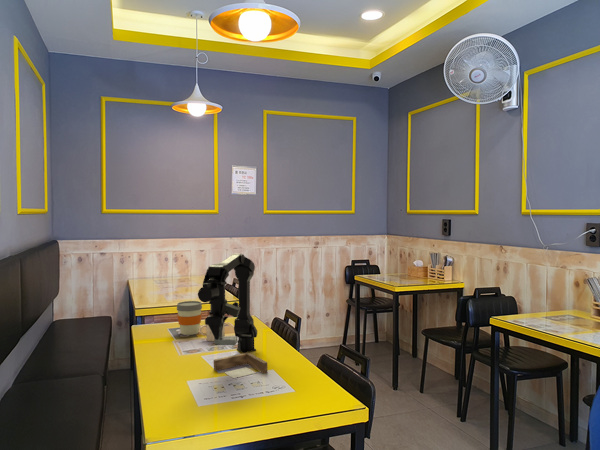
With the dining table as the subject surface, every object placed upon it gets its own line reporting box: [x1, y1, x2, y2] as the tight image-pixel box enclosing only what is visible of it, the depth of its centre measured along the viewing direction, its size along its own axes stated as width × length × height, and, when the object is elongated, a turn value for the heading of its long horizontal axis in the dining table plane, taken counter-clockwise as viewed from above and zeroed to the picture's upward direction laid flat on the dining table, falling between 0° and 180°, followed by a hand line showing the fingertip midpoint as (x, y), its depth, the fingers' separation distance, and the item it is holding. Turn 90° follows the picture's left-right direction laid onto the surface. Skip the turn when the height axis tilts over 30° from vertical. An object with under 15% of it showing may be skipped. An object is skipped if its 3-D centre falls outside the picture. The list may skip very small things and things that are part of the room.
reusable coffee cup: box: [176, 300, 203, 336], centre depth 235 cm, size 13×13×15 cm
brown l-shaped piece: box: [213, 352, 269, 375], centre depth 178 cm, size 15×15×4 cm
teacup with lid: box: [199, 320, 226, 343], centre depth 222 cm, size 12×9×12 cm
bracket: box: [214, 325, 238, 346], centre depth 179 cm, size 8×5×7 cm, turn 89°
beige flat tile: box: [223, 366, 257, 379], centre depth 176 cm, size 10×8×1 cm
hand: (218, 337), depth 179 cm, fingers closed on bracket, 5 cm apart
